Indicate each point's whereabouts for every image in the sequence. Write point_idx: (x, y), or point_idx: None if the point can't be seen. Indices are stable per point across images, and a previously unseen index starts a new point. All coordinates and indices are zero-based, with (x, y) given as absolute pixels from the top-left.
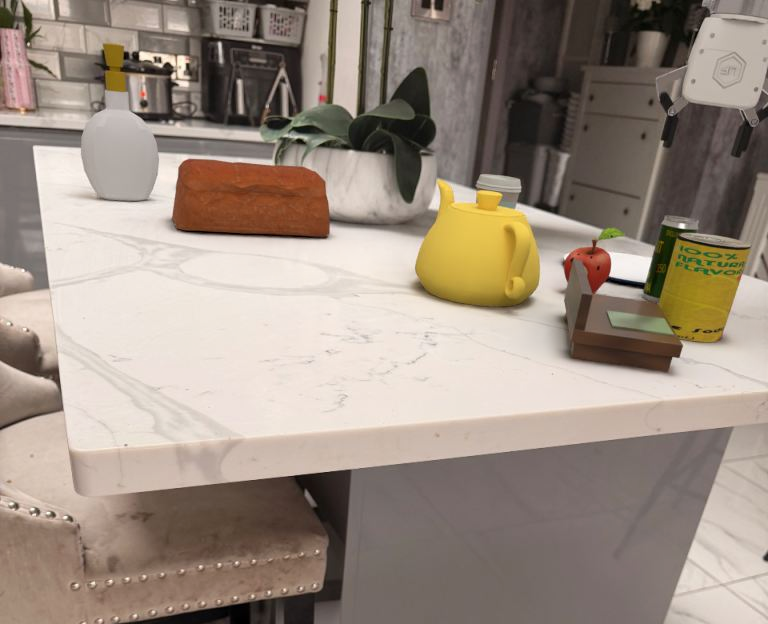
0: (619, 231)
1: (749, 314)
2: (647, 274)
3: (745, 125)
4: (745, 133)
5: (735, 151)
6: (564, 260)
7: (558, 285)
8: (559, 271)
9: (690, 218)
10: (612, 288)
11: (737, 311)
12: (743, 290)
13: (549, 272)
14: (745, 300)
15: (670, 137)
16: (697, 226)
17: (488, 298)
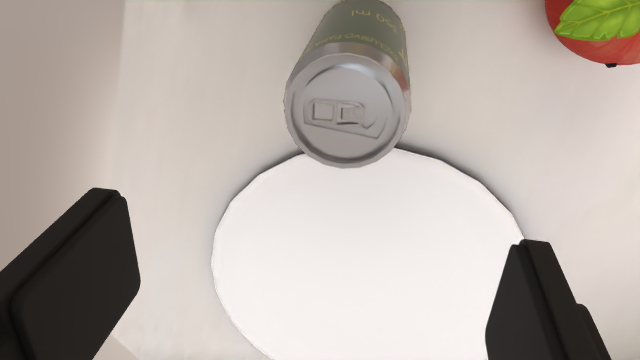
0: (581, 29)
1: (148, 3)
2: (335, 267)
3: (7, 337)
4: (24, 266)
5: (116, 225)
6: None
7: (625, 67)
8: (558, 225)
9: (304, 149)
10: (462, 109)
11: (174, 20)
12: (137, 237)
13: (594, 203)
14: (142, 148)
15: (551, 273)
16: (290, 83)
17: None
